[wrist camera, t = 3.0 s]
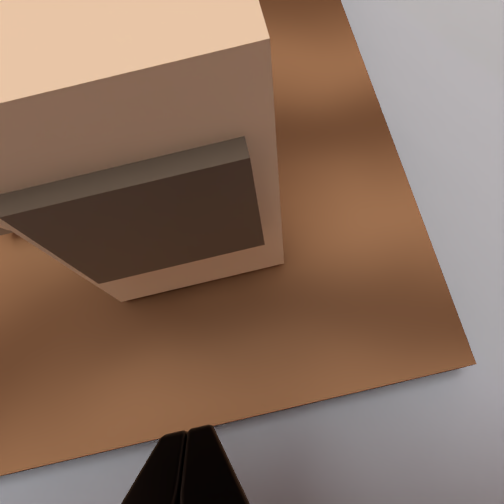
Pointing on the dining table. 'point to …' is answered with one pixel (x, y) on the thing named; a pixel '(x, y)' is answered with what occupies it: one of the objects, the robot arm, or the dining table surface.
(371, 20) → the dining table surface
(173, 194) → the block
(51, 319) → the gauge base
